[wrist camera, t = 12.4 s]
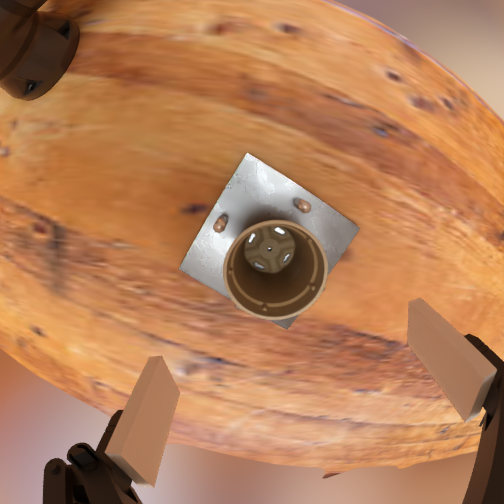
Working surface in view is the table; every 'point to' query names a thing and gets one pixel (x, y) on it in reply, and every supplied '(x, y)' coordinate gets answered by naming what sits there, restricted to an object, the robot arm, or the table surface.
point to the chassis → (259, 210)
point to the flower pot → (275, 270)
